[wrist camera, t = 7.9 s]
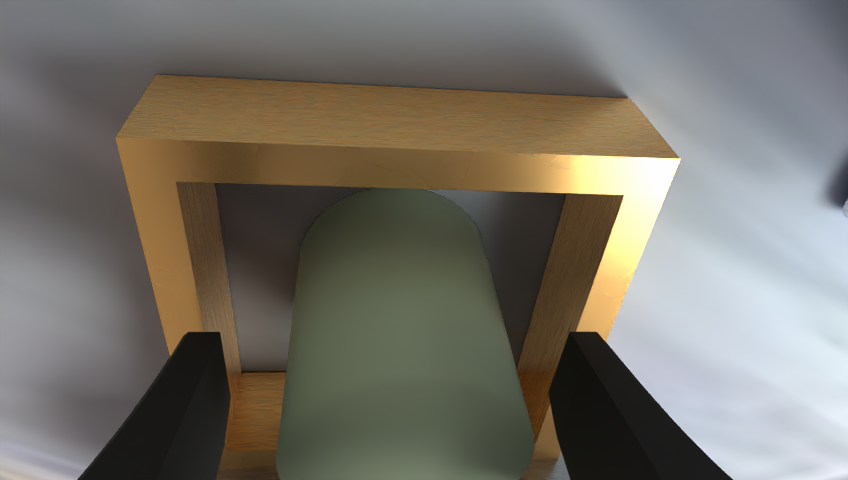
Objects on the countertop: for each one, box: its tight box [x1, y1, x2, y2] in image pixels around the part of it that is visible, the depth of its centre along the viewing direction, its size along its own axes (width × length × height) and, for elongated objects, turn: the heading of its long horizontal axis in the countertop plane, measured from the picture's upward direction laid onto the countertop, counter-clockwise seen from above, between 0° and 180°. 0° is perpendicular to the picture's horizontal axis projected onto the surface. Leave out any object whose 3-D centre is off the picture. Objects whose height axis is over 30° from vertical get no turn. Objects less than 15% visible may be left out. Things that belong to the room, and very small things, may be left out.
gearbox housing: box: [115, 75, 680, 480], centre depth 14 cm, size 10×15×7 cm
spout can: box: [276, 188, 535, 480], centre depth 13 cm, size 5×7×6 cm
